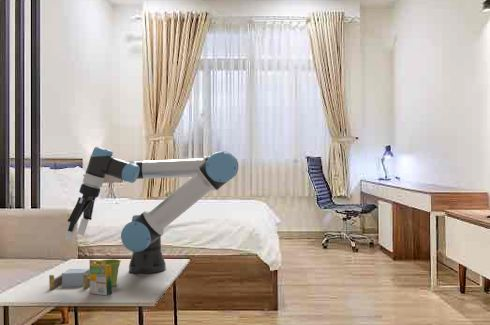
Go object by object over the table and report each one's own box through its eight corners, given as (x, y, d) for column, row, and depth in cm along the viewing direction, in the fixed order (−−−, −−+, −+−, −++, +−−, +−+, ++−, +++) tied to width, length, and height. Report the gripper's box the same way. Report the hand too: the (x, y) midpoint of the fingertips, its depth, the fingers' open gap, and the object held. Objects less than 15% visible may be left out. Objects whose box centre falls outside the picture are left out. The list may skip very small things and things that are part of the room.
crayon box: (112, 293, 168) (111, 259, 168) (106, 295, 165) (105, 260, 166) (95, 291, 171) (94, 258, 171) (89, 293, 169) (88, 259, 169)
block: (90, 281, 188) (90, 268, 189) (83, 286, 180) (83, 272, 181) (69, 282, 188) (69, 269, 189) (62, 287, 180) (61, 273, 181)
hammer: (99, 280, 189) (98, 267, 189) (87, 288, 176) (86, 274, 176) (63, 281, 190) (63, 268, 190) (48, 289, 176) (48, 275, 176)
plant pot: (126, 283, 183) (125, 259, 183) (111, 289, 174) (111, 264, 174) (105, 281, 186) (104, 258, 186) (89, 287, 177) (88, 263, 178)
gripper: (92, 181, 206) (76, 229, 206) (71, 183, 181) (52, 238, 181) (109, 187, 206) (93, 235, 206) (90, 190, 181) (72, 244, 181)
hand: (74, 236), depth 194 cm, fingers open, 13 cm apart
